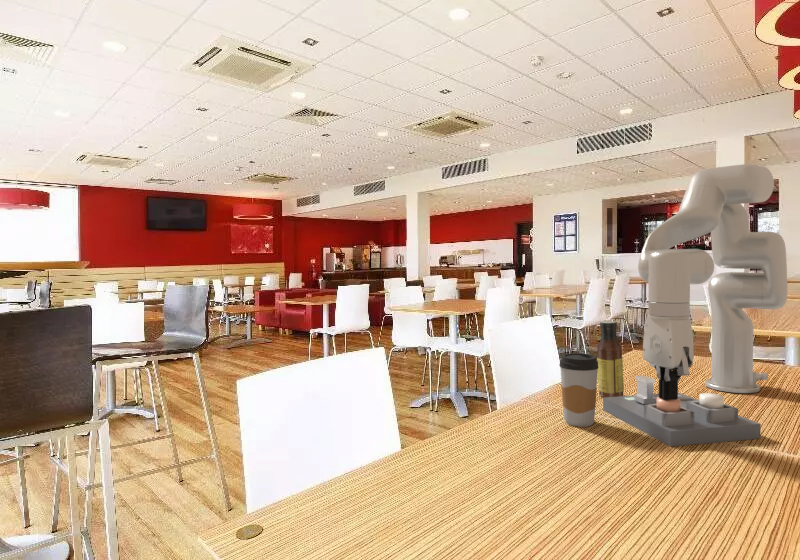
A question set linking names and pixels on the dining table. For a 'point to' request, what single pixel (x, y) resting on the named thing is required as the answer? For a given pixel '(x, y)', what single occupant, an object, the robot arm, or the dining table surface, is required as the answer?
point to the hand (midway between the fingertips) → (668, 398)
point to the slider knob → (645, 390)
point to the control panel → (683, 421)
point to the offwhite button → (711, 401)
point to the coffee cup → (579, 388)
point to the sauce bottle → (610, 362)
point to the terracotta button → (669, 405)
